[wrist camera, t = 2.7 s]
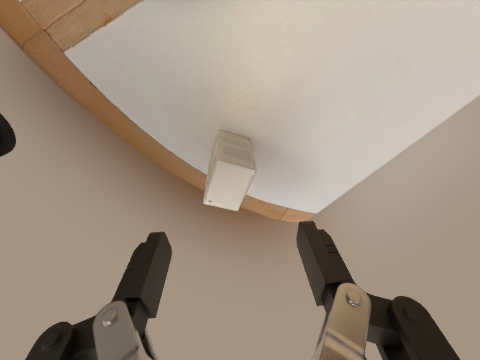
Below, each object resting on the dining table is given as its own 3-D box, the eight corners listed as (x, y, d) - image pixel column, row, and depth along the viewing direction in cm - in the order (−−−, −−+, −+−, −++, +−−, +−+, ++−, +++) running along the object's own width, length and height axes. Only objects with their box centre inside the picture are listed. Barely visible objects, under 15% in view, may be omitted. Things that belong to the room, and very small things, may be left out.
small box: (235, 174, 39) (238, 212, 30) (207, 167, 38) (201, 205, 29) (250, 138, 35) (257, 171, 26) (219, 128, 33) (216, 159, 25)
